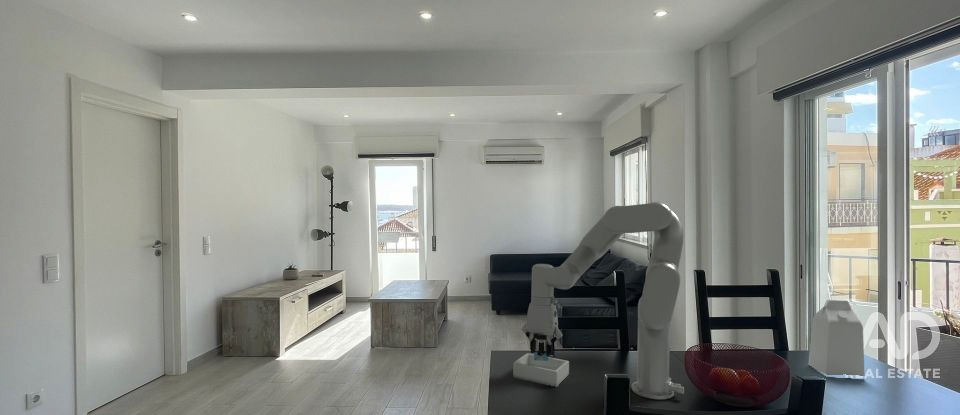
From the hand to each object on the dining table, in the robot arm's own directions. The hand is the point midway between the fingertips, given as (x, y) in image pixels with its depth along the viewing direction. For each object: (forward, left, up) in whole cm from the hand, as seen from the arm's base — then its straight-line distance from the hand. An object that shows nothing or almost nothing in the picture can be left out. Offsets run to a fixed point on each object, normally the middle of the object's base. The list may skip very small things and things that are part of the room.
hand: (541, 353), depth 159 cm
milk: (-88, -59, -8) cm, 106 cm away
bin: (0, 0, -8) cm, 8 cm away
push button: (-1, 0, -2) cm, 2 cm away
